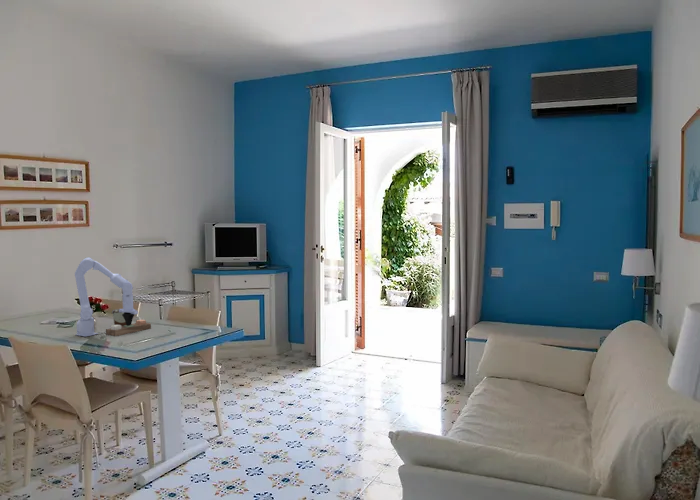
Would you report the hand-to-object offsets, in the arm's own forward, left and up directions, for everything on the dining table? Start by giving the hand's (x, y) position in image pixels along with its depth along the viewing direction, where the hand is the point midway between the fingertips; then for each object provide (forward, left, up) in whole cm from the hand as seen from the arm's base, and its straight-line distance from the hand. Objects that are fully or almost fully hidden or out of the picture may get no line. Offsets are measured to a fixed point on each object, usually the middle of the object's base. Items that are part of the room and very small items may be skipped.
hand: (128, 325), depth 334 cm
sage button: (0, 0, -3) cm, 3 cm away
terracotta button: (0, +8, -2) cm, 9 cm away
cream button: (0, -8, -2) cm, 9 cm away
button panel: (0, 0, -3) cm, 3 cm away
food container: (-18, +10, -4) cm, 21 cm away
